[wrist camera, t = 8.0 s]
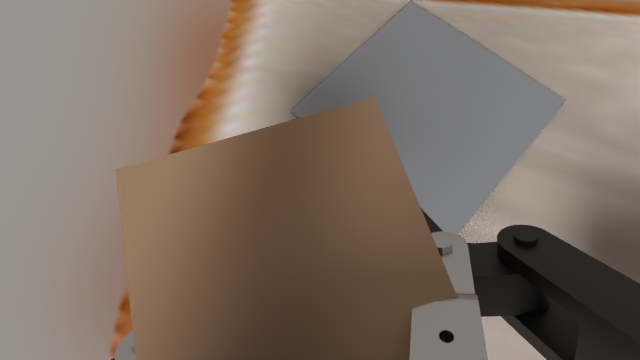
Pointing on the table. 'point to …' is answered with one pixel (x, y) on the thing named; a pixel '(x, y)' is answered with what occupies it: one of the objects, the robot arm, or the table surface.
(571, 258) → the robot arm
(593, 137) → the table surface
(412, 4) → the grey mat
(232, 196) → the walnut block
